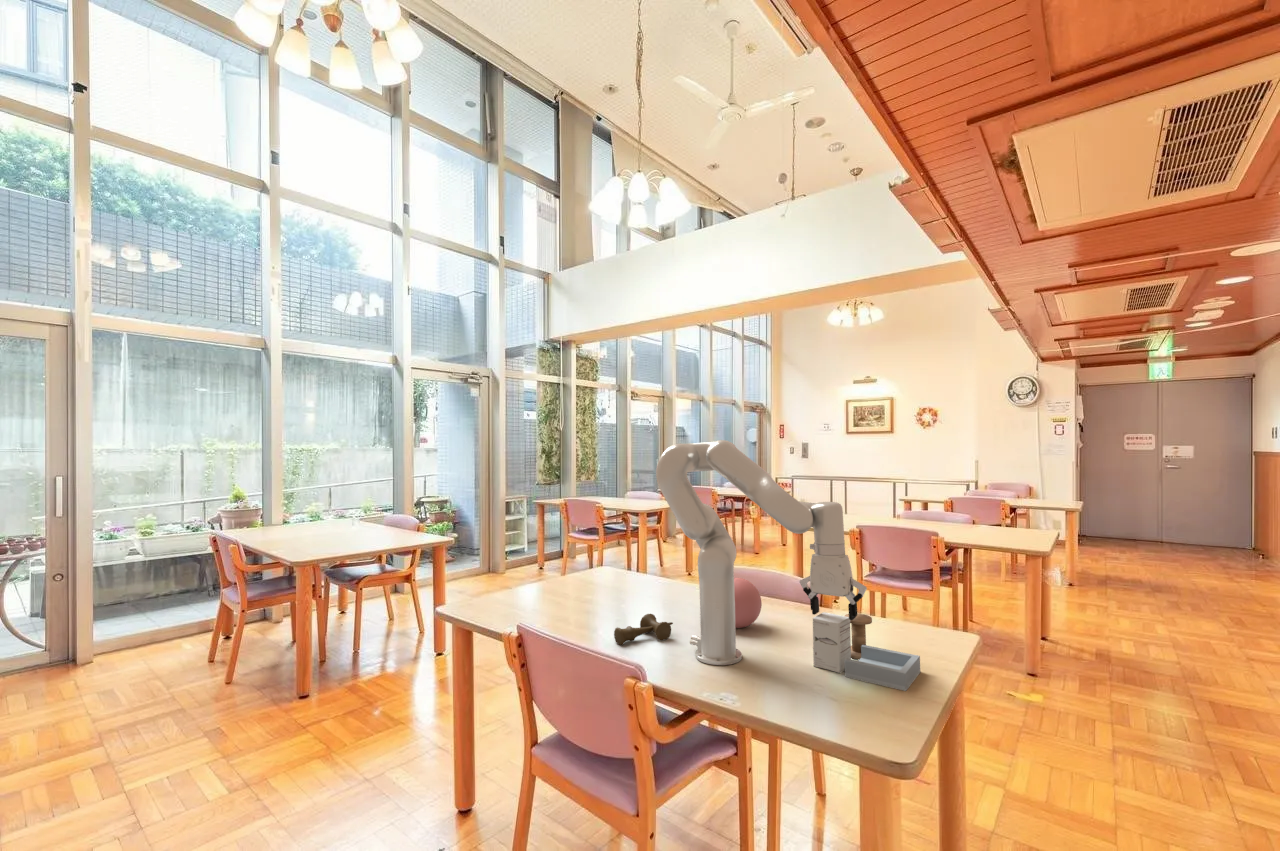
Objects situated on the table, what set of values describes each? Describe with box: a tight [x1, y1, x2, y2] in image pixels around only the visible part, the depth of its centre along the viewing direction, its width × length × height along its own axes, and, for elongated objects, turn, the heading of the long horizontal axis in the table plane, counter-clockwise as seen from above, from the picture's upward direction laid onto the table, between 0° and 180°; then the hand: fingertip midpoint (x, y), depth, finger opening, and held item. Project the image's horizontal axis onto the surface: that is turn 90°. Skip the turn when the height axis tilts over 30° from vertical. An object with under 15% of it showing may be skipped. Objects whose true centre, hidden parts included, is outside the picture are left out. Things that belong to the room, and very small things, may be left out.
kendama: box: [613, 613, 674, 646], centre depth 172 cm, size 6×10×20 cm
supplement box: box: [812, 611, 852, 674], centre depth 148 cm, size 7×7×13 cm
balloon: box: [734, 577, 763, 629], centre depth 184 cm, size 15×20×15 cm
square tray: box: [844, 644, 921, 692], centre depth 142 cm, size 14×14×4 cm
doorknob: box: [844, 613, 873, 660], centre depth 156 cm, size 8×8×10 cm
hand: (833, 615), depth 148 cm, fingers open, 9 cm apart
